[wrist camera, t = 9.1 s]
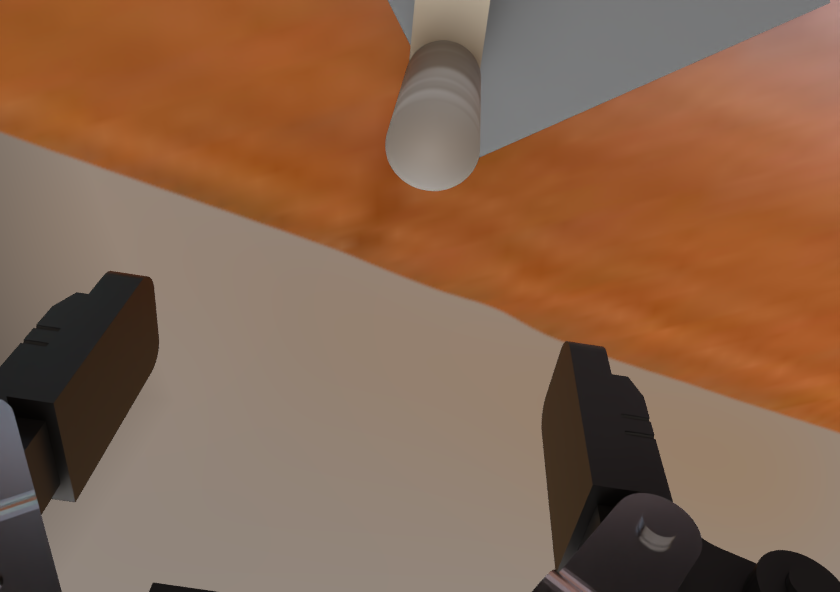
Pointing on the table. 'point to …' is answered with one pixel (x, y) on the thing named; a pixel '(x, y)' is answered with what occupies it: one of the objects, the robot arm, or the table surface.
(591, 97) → the board
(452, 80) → the lever
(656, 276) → the table surface
